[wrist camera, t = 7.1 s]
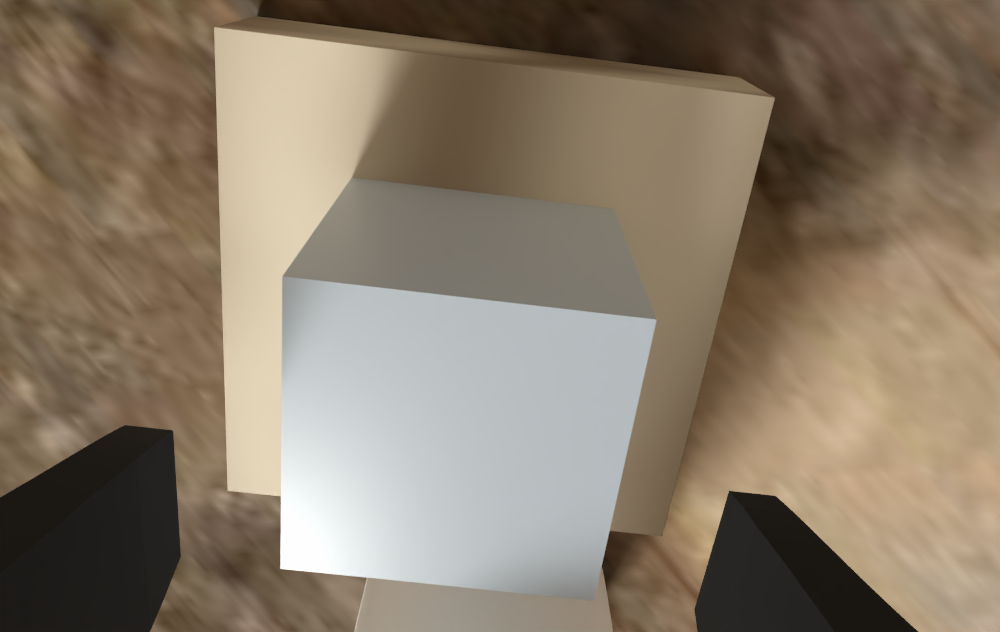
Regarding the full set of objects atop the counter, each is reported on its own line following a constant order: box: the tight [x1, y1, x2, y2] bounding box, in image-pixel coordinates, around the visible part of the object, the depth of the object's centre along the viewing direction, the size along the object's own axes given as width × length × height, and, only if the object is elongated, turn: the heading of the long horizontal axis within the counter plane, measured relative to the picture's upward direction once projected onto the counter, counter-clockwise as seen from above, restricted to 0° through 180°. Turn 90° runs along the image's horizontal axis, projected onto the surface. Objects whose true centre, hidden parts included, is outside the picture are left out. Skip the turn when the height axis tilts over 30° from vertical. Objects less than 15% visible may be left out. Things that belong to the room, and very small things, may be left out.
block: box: [281, 177, 657, 601], centre depth 14 cm, size 5×5×5 cm
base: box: [214, 16, 775, 536], centre depth 17 cm, size 10×10×2 cm
